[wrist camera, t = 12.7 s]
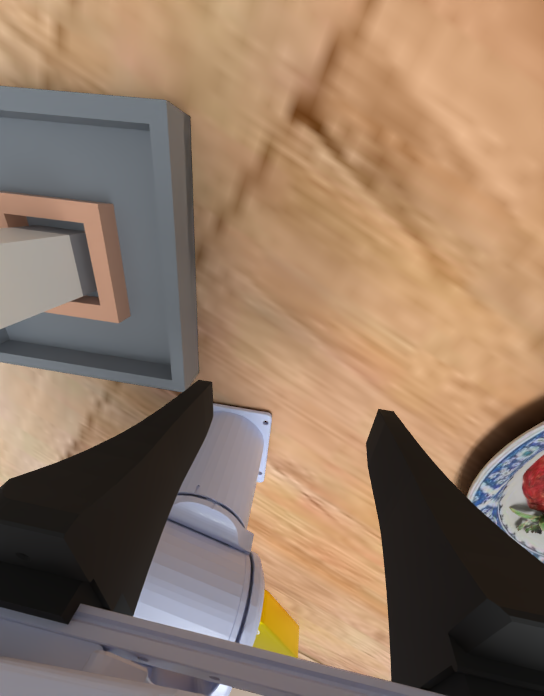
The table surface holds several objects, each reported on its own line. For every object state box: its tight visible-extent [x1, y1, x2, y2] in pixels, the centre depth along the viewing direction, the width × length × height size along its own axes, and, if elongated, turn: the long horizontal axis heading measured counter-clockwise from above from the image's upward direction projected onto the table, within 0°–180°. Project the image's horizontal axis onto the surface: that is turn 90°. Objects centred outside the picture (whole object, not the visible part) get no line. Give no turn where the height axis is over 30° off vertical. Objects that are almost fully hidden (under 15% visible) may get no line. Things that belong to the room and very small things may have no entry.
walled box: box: [0, 86, 199, 392], centre depth 20 cm, size 18×18×3 cm
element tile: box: [253, 589, 299, 658], centre depth 45 cm, size 15×15×5 cm
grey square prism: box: [0, 225, 97, 329], centre depth 17 cm, size 4×4×8 cm
